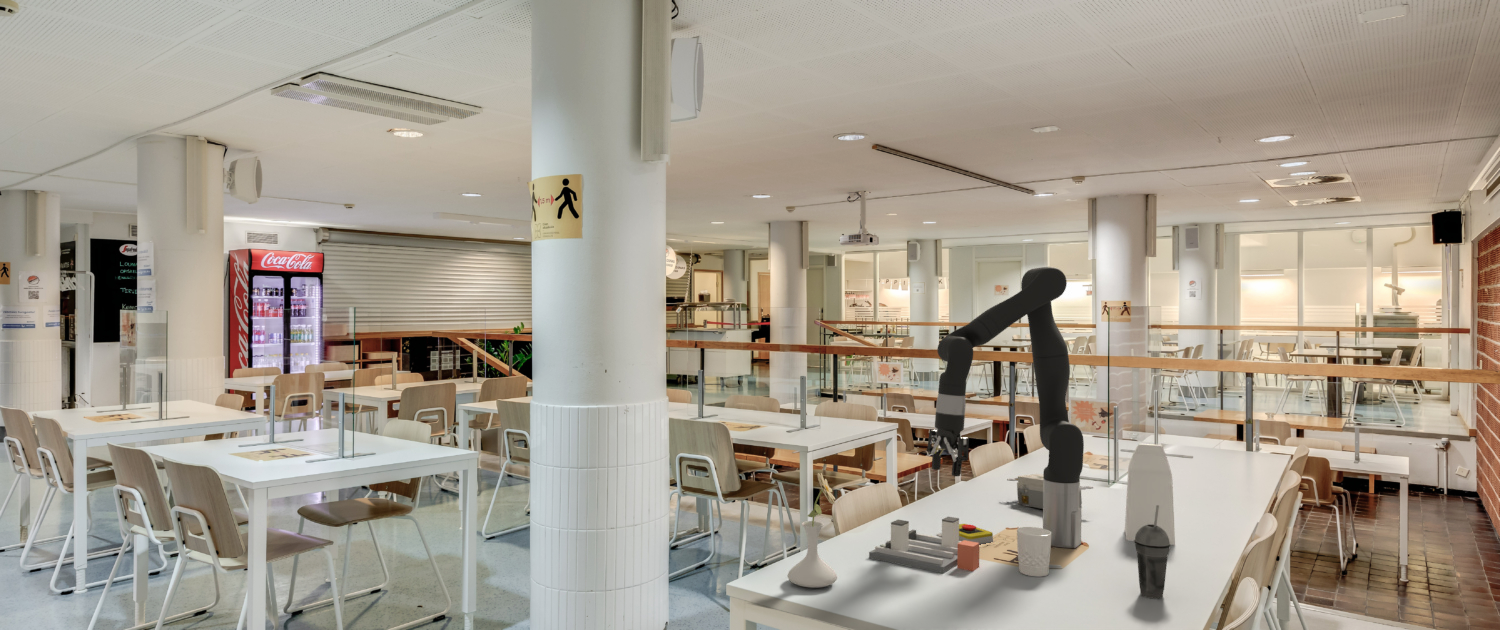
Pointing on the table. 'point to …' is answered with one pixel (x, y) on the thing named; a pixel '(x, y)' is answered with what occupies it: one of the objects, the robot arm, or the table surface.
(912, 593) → the table surface
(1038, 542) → the white cup
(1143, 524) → the milk
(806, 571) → the flower in vase
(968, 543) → the cap
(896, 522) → the block
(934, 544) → the board
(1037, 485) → the grey labelled box
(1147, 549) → the beverage cup
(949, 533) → the off-white rectangular block
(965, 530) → the emergency button
